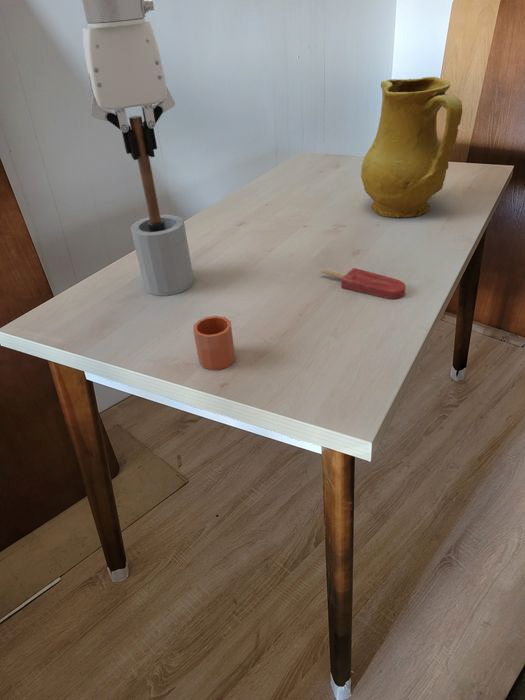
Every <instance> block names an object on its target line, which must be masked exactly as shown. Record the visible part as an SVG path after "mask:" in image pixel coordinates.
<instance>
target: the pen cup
mask: <svg viewBox="0 0 525 700" xmlns="http://www.w3.org/2000/svg"><path fill="white" fill-rule="evenodd" d="M192 331H193V336H194V342H195V347H196V353H197V359H198V361H199V364H200V366H201V367H203V368H204V369H207V370H209V371H217V370H223V369H226V368H228V367H230V366H231V365H232V364H233V363H234V362H235V360H236V353H235V352H236V351H235V345H234V336H233V329H232V321H231V320H230V319H228V318H227V317H225V316H220V315H211V316H205V317H204V318H201V319H199V320H197V321H196V323H194V324H193V330H192Z"/></svg>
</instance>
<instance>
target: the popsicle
mask: <svg viewBox="0 0 525 700" xmlns="http://www.w3.org/2000/svg"><path fill="white" fill-rule="evenodd" d="M320 273H322V274H325V275H329V276H333V277H337V278H340V288H342V289H344V290H349V291H354V292H357V293H358V292H359V293H363V294H366V295H371V296H375V297H380V298H384V299H389V300H390V299H391V300H394V299H400V298H402V297H403V296H405V294H406V285H405V283H404V282H403V281H402V280H399V279H397V278H394V277H390V276H386V275H383V274H379V273H374V272H371V271H367V270H364V269H360V268H356V267H353V268H351V270H349V271H348V272H347V273H346V274H344V273H339V272H335V271H331V270H327V269H321V270H320Z"/></svg>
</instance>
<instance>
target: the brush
mask: <svg viewBox="0 0 525 700" xmlns="http://www.w3.org/2000/svg"><path fill="white" fill-rule="evenodd" d="M128 121H129V126H130V127H131V130H132V131H133V133H134V138H135V142H136V147H137V152H138V157H139V158H138V159H137V160H136V161H137V164H138V170H139V173H140V179H141V184H142V189H143V193H144V197H145V203H146V208H147V214H148V217H149V219H150V221H149V222H148V226H149V231H150V232H158V231H163V230H165V224H164V220H162V219H161V216H160V215H161V212H160V206H159V202H158V197H157V191H156V185H155V179H154V174H153V169H152V165H151V160H150V156H149V154H148V149H147V144H146V139H145V134H144V127H143V122H144V121H143V116H142V115H133V116H130V117H128Z"/></svg>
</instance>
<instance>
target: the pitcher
mask: <svg viewBox="0 0 525 700" xmlns="http://www.w3.org/2000/svg"><path fill="white" fill-rule="evenodd" d="M380 87H381V90H382V91H381V92H382V93H381V94H382V96H381V97H382V98H381V99H382V100H381V107H380V109H381V110H380V117H379V123H378V127H377V131H376V135H375V137H374V140H373V141H372V144H371V146H370V148H369V149H368V150H367V152H366V153H365V156H364V158H363V160H362V164H361V170H360V178H361V181H362V185H363V187H364V191H365V193H366V194H367V196H368V197H370V199H372V200H373V203H372V204H371V210H372V211H373V212H374V213H376V214H378V216H382V217H384V218H385V217H387V218H396V219H399V218H401V219H402V218H404V219H405V218H410V217H411V218H413V217H420V216H422V215H424V214H427V213H429V211H430V209H431V204H430V203H429V202H428V201H429V200H430V199H431V198H432V197H433V196H434V195H435V194H437V193H438V192H440V191H442V189H443V187H444V182H445V180H446V175H447V171H448V169H449V160H450V158H451V157H452V155H453V147H454V146H455V145H456V142H457V137H458V133H459V126H460V125H461V121H462V116H463V102H462V100H461V99H460V98H459V96H457V95H456V94H451V93H450V94H448V93H446V92H447V91H448V90H449V88H450V87H451V83H450V81H448V80H446V79H443V78H440V77H437V76H426V77H422V78H408V79H407V78H406V79H402V78H401V79H400V78H399V79H398V78H391V79H387V80H382V81H381V82H380ZM442 107H443V108H444V109H445V110H446V113H445V114H446V116H445V125H444V131H443V135H442V138H441V141H440V140H439V137H438V132H437V122H438V121H437V119H438V118H437V115H438V112H439V111H440V110H441V108H442Z"/></svg>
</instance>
